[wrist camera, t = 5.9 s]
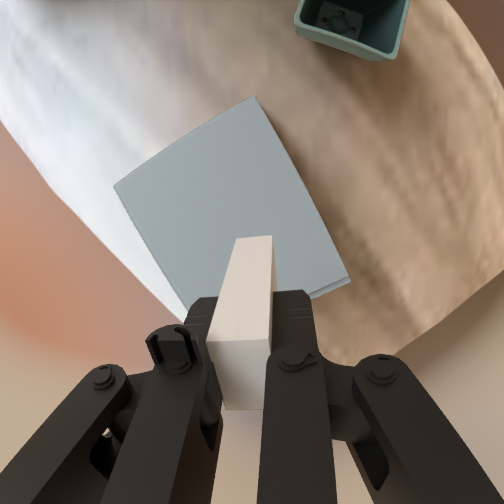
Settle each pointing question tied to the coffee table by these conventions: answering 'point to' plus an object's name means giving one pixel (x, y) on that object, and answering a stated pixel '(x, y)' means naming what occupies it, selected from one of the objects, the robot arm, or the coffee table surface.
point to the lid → (229, 207)
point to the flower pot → (354, 25)
